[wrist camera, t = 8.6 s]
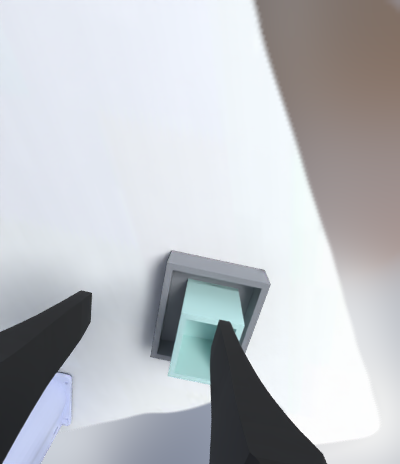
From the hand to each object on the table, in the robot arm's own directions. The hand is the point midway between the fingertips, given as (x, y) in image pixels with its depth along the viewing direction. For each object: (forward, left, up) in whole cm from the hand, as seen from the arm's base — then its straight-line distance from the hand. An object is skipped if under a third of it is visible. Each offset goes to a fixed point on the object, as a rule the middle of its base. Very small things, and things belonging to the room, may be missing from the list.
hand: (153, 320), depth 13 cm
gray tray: (-6, -4, -10) cm, 12 cm away
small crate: (-6, -4, -9) cm, 12 cm away
